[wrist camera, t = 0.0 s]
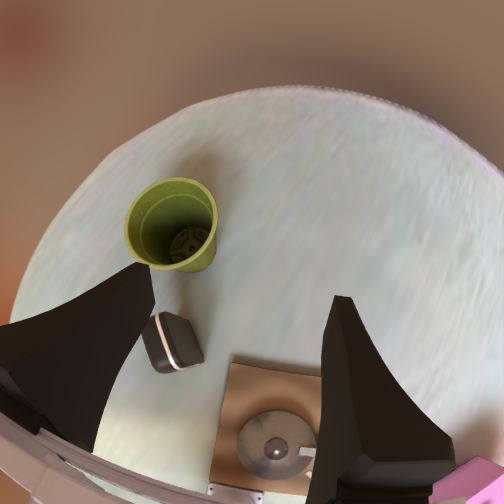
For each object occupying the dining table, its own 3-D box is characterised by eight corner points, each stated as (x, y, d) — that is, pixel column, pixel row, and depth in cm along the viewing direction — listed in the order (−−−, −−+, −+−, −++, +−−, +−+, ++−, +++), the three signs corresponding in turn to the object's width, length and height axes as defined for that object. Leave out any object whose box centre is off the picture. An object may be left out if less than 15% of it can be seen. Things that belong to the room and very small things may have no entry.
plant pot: (236, 214, 48) (224, 176, 38) (226, 292, 45) (210, 273, 34) (163, 211, 50) (135, 176, 39) (149, 284, 46) (114, 265, 36)
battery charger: (165, 326, 44) (131, 319, 33) (188, 317, 44) (160, 307, 33) (182, 372, 42) (151, 378, 31) (206, 363, 42) (182, 368, 31)
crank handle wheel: (232, 468, 36) (226, 482, 31) (245, 403, 39) (241, 410, 34) (348, 481, 34) (356, 496, 29) (365, 417, 36) (376, 426, 31)
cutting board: (346, 493, 34) (348, 498, 33) (210, 476, 37) (208, 480, 35) (374, 382, 39) (377, 383, 38) (232, 362, 42) (230, 363, 40)
